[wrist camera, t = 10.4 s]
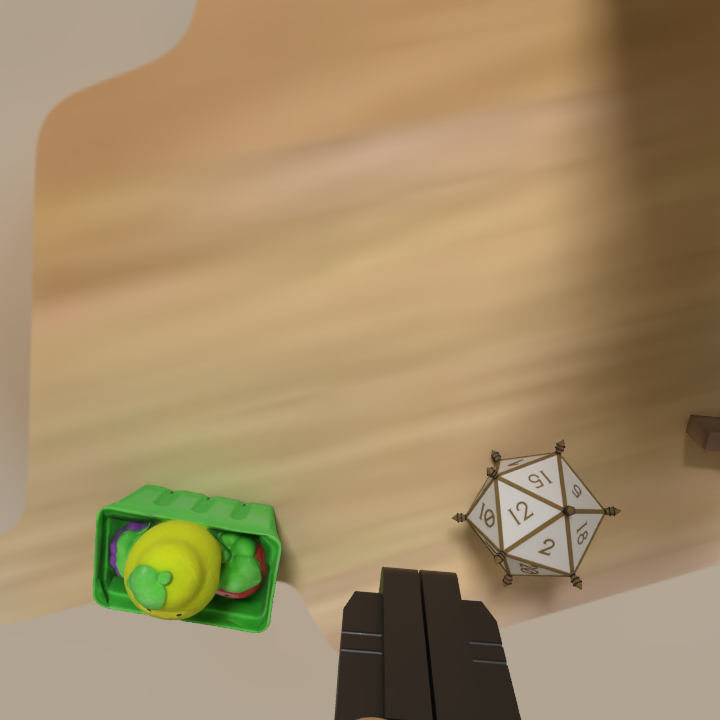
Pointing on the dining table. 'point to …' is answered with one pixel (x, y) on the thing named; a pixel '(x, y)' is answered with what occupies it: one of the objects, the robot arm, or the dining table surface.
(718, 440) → the walnut bay
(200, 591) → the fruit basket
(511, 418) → the dining table surface
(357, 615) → the robot arm
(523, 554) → the game die
